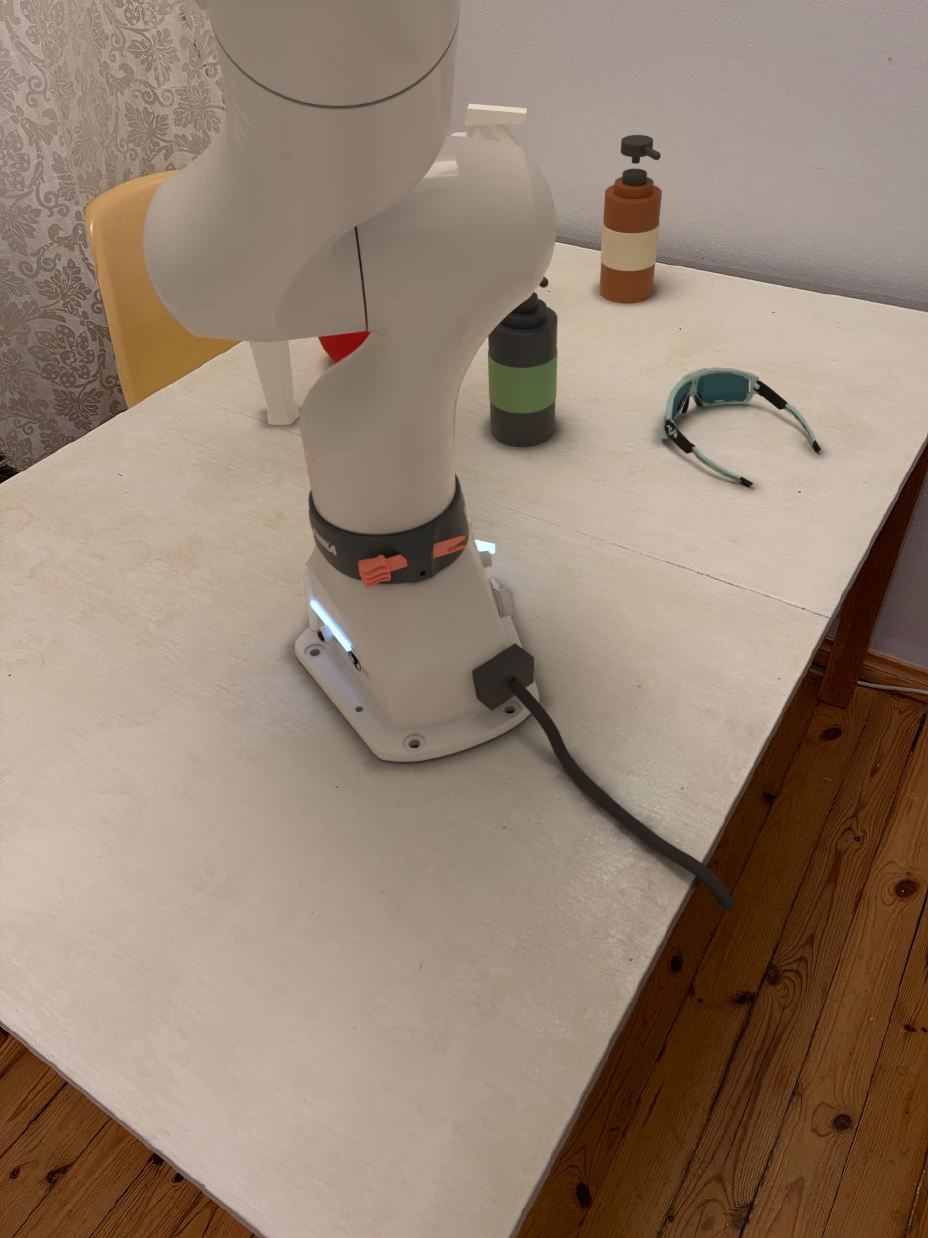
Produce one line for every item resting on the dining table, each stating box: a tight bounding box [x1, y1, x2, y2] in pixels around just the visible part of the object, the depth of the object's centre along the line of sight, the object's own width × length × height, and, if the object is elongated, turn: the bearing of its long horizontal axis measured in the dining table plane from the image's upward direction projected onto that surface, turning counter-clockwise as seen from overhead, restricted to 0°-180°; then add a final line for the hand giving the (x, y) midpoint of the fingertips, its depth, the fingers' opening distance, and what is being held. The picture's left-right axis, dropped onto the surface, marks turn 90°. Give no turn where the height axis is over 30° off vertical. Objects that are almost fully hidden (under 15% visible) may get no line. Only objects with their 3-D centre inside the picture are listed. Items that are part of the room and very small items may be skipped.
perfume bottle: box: [248, 340, 301, 426], centre depth 105 cm, size 5×4×15 cm
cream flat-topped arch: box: [451, 103, 529, 147], centre depth 117 cm, size 7×12×25 cm, turn 81°
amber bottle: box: [599, 168, 663, 304], centre depth 124 cm, size 7×7×15 cm
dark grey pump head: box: [620, 134, 662, 165], centre depth 116 cm, size 7×4×3 cm, turn 23°
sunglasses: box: [660, 366, 822, 488], centre depth 101 cm, size 14×15×5 cm
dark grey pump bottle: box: [487, 291, 558, 448], centre depth 100 cm, size 7×7×15 cm
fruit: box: [317, 329, 371, 364], centre depth 115 cm, size 9×9×10 cm
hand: (317, 63), depth 84 cm, fingers closed
